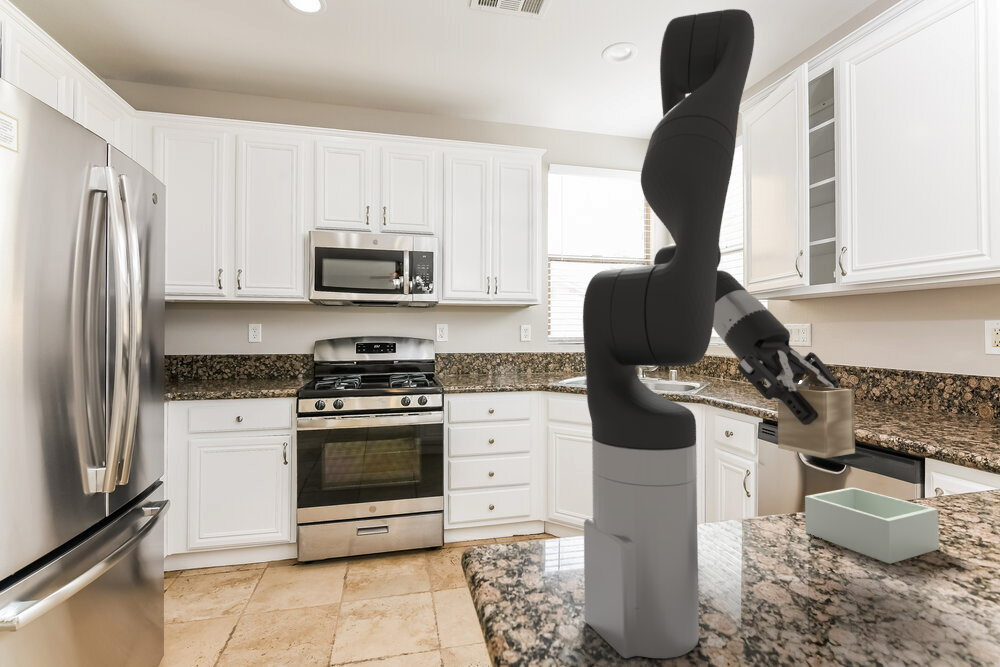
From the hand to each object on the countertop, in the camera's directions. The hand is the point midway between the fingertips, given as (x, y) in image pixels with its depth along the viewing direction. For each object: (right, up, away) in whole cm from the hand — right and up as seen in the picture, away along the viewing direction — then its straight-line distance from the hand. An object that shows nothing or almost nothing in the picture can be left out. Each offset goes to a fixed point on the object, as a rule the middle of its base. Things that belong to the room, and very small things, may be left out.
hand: (829, 418), depth 61 cm
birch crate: (-1, -4, +1) cm, 5 cm away
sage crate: (+7, -17, +3) cm, 18 cm away
